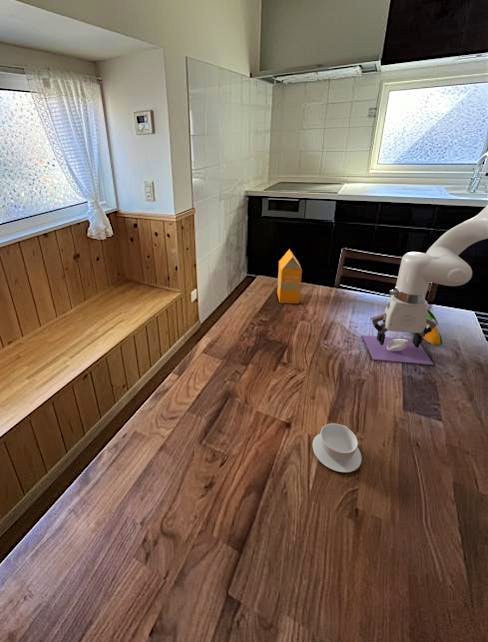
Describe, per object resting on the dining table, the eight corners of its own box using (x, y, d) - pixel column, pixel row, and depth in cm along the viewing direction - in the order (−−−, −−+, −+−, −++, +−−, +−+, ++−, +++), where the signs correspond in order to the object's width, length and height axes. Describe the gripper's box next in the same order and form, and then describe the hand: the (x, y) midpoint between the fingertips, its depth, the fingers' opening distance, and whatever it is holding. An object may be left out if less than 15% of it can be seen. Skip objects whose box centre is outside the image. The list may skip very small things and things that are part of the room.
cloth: (417, 340, 108) (417, 339, 108) (433, 365, 97) (433, 364, 97) (363, 336, 111) (363, 335, 111) (372, 360, 101) (373, 358, 101)
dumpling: (401, 358, 100) (400, 348, 99) (383, 352, 105) (382, 342, 103) (412, 346, 103) (411, 335, 102) (395, 341, 108) (394, 330, 106)
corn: (428, 300, 116) (456, 333, 98) (424, 319, 119) (451, 354, 101) (404, 300, 117) (427, 332, 100) (401, 318, 120) (423, 353, 103)
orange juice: (295, 292, 141) (299, 248, 133) (299, 303, 133) (303, 256, 125) (276, 292, 142) (279, 248, 134) (279, 303, 134) (282, 256, 126)
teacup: (352, 483, 68) (356, 468, 66) (305, 455, 74) (306, 440, 72) (367, 448, 75) (370, 433, 73) (322, 425, 81) (324, 411, 79)
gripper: (380, 299, 95) (370, 348, 102) (450, 303, 91) (434, 353, 98) (373, 287, 102) (364, 334, 109) (437, 290, 98) (424, 338, 105)
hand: (397, 343), depth 103 cm, fingers open, 9 cm apart
